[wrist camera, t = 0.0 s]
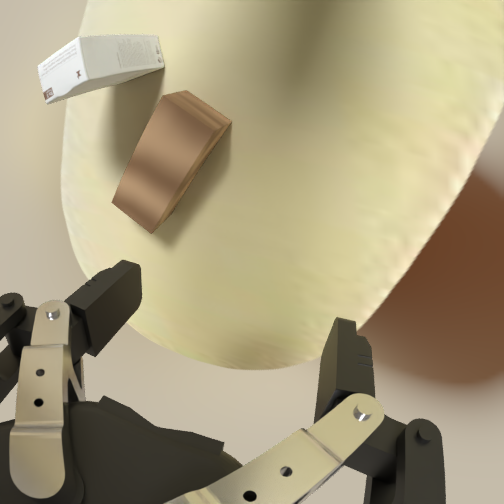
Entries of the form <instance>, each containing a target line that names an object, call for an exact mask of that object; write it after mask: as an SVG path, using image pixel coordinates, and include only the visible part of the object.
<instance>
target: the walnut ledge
mask: <svg viewBox="0 0 504 504" xmlns="http://www.w3.org/2000/svg"><path fill="white" fill-rule="evenodd" d="M231 122H232V121H230V120H229V119H227V118H226V117H225V116H223V115H222V114H220V113H219V112H218V111H216V110H215V109H213V108H212V107H210V106H209V105H207V104H206V103H204V102H203V101H202V100H200V99H199V98H197V97H196V96H194V95H193V94H191V93H190V92H188V91H187V90H186V91H181V92H176V93H172V94H167V95H163V96H162V98H161V100H160V101H159V103H158V105H157V107H156V109H155V111H154V113H153V114H152V116H151V118H150V120H149V122H148V124H147V126H146V128H145V130H144V132H143V134H142V136H141V138H140V140H139V142H138V144H137V146H136V148H135V150H134V152H133V155H132V157H131V159H130V161H129V163H128V165H127V168H126V170H125V172H124V174H123V177H122V179H121V181H120V184H119V186H118V188H117V191H116V193H115V195H114V198H113V200H112V203H113V204H114V205H115V206H116V207H118V208H119V209H120V210H122V211H123V212H124V213H125V214H127V215H128V216H129V217H130V218H132V219H133V220H134V221H136V222H137V223H138V224H139V225H141V226H142V227H143V228H145V229H146V230H147V231H149V232H150V233H151V234H152V233H153V232H154V231H155V230H156V229H157V228H158V227H159V226H160V225H161V224H162V223H163V222H164V221H165V220H166V219H167V218H168V217H169V216H170V215H171V214H172V212H173V210H174V209H175V207H176V205H177V204H178V202H179V201H180V199H181V197H182V196H183V194H184V193H185V191H186V189H187V188H188V186H189V185H190V183H191V182H192V180H193V178H194V177H195V175H196V174H197V172H198V171H199V169H200V168H201V166H202V165H203V163H204V162H205V160H206V159H207V157H208V156H209V154H210V153H211V151H212V150H213V148H214V147H215V145H216V144H217V142H218V141H219V139H220V138H221V136H222V135H223V134H224V132H225V131H226V129H227V128H228V126H229V125H230V124H231Z"/></svg>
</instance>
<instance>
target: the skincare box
mask: <svg viewBox="0 0 504 504" xmlns="http://www.w3.org/2000/svg"><path fill="white" fill-rule="evenodd" d="M161 68H164V62H163V56H162V52H161V47H160V43H159V39H158V36H157V35H145V34H119V35H96V36H79V37H77V38H76V39H74V40H73V41H71V42H70V43H68V44H67V45H65V46H64V47H63V48H61V49H60V50H58V51H57V52H56V53H54V54H53V55H52V56H50V57H49V58H48V59H46V60H45V61H44V62H42V63H41V64H40V65H39V66H38V73H39V78H40V81H41V86H42V90H43V93H44V97H45V101H46V104H51V103H54V102H57V101H61V100H64V99H67V98H70V97H73V96H76V95H80V94H83V93H86V92H90V91H93V90H97V89H101V88H105V87H109V86H113V85H117V84H121V83H125V82H127V81H129V80H132V79H134V78H137V77H140V76H142V75H145V74H148V73H150V72H153V71H156V70H159V69H161Z"/></svg>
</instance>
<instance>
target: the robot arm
mask: <svg viewBox="0 0 504 504" xmlns="http://www.w3.org/2000/svg"><path fill="white" fill-rule="evenodd" d="M141 300H142V284H141V267H140V265H139V264H136V263H132V262H129V261H126V260H121V261H120V262H119V263H117V264H116V265H115V266H114V267H112V268H108V269H105V270H103V271H100V272H99V273H97V274H96V275H95V276H94V277H92V278H91V280H89V281H88V282H86V283H85V285H83V286H81V287H80V288H79V289H78V290H77V291H75V292H74V293H73V294H72V295H71V296H69V297H68V298H67V299H66V300H65V301H64V302H63V301H60V300H52V301H48V302H45V303H43V304H42V305H41V306H40V307H39V308H35V307H29V306H25V303H24V300H23V297H22V296H21V295H20V294H17V293H7V294H4V295H2V296H1V297H0V340H1V339H2V338H3V337H4V336H5V337H6V339H7V341H8V344H9V345H8V346H7V347H6V348H5V349H4V350H3V351H2V352H1V353H0V403H1V402H2V401H3V400H4V398H5V397H6V396H7V395H8V393H9V392H10V391H11V390H12V389H13V387H14V386H15V385H16V383H17V382H18V388H17V399H16V413H15V419H13V420H10V421H6V422H2V423H0V504H301V503H302V502H303V501H304V500H306V499H307V498H308V497H309V496H310V495H311V494H313V493H314V492H315V491H316V490H317V489H318V488H320V487H321V486H322V485H323V484H324V483H325V482H326V481H328V480H329V479H330V478H331V477H332V476H333V475H334V474H336V473H337V472H338V471H339V470H340V469H341V468H342V467H343V466H344V465H345V466H348V467H350V468H352V469H354V470H357V471H359V472H362V473H364V474H366V475H367V480H366V488H365V497H364V503H363V504H446V494H445V471H444V456H443V446H442V436H441V433H440V431H439V429H438V428H437V426H436V425H434V424H433V423H432V422H430V421H429V420H425V419H415V420H413V421H411V422H410V423H409V424H408V425H406V424H403V423H401V422H398V421H396V420H394V419H391V418H389V417H388V416H386V415H385V414H384V409H383V407H382V405H381V404H380V403H379V401H378V400H376V399H375V386H374V372H373V368H372V367H373V361H372V350H371V346H370V344H369V343H368V341H367V339H366V338H365V337H363V336H358V335H357V334H356V322H355V321H352V320H347V319H343V318H338V317H336V319H335V321H334V323H333V326H332V329H331V331H330V334H329V336H328V339H327V341H326V344H325V347H324V349H323V353H322V357H321V363H320V374H319V383H318V393H317V402H316V409H315V417H314V425H312V426H311V427H310V428H308V429H307V430H305V429H299V430H298V431H296V432H295V433H293V434H292V435H290V436H289V437H287V438H286V439H284V440H283V441H281V442H280V443H278V444H277V445H275V446H274V447H272V448H271V449H269V450H268V451H266V452H265V453H263V454H262V455H260V456H259V457H257V458H256V459H254V460H252V461H251V462H249V463H247V464H246V465H244V466H242V464H241V463H239V462H238V461H237V460H236V459H235V458H233V457H232V456H231V455H229V454H227V453H226V452H224V451H223V447H224V442H221V441H218V440H215V439H211V438H208V437H205V436H202V435H199V434H196V433H193V432H187V431H180V430H173V429H166V428H160V427H156V426H154V425H153V424H151V423H150V422H149V421H147V420H146V419H145V418H143V417H142V416H140V415H139V414H138V413H136V412H135V411H134V410H132V409H131V408H130V407H127V406H125V405H123V404H121V403H119V402H117V401H114V400H112V399H110V398H108V397H106V396H103V397H102V398H101V400H100V401H99V402H92V401H86V398H85V388H84V371H83V359H82V356H83V355H84V354H85V352H86V353H88V354H90V355H92V356H94V357H96V356H97V355H98V354H99V352H100V351H101V350H102V349H103V348H104V347H105V345H106V344H107V343H108V342H109V341H110V340H111V339H112V337H113V336H114V335H115V334H116V333H117V332H118V330H119V329H120V328H121V327H122V326H123V325H124V324H125V323H126V322H127V320H128V319H129V318H130V317H131V316H132V315H133V314H134V313H135V311H136V310H137V309H138V308H139V306H140V303H141Z"/></svg>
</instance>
